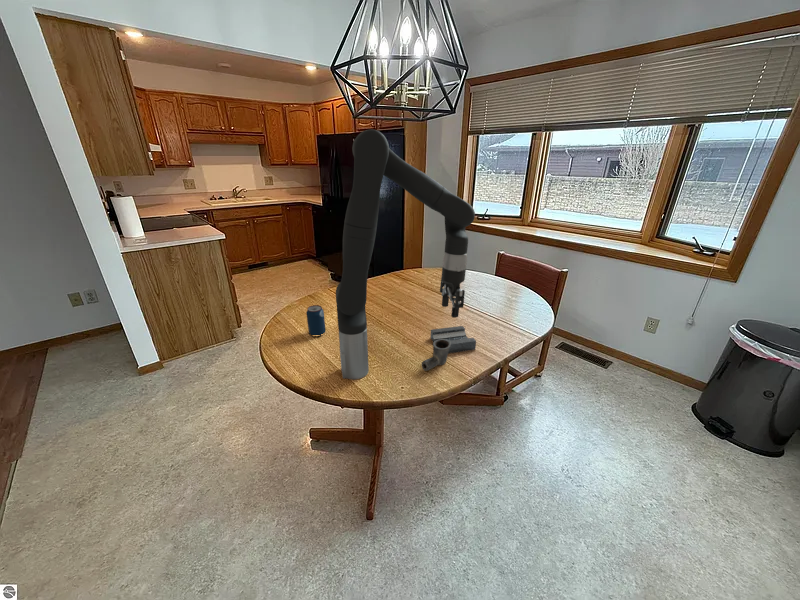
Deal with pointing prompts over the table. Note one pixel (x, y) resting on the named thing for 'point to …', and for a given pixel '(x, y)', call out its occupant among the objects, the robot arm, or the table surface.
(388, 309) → the table surface
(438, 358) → the pipe
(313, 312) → the soda can
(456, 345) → the v block
